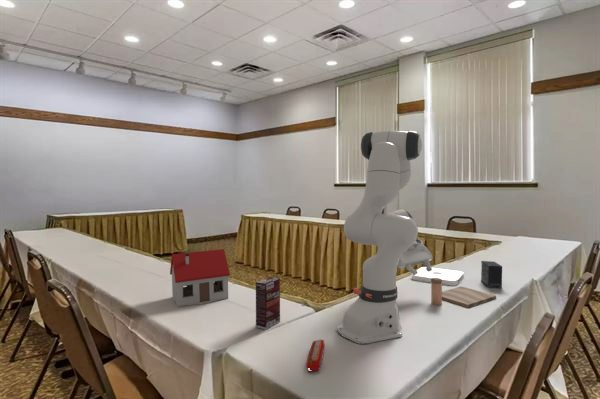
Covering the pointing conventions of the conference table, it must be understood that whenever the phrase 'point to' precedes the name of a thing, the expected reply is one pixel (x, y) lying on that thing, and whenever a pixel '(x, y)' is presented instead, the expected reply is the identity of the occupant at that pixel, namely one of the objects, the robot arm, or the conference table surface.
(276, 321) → the supplement box
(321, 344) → the candy bar
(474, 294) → the board
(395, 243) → the robot arm
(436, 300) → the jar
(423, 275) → the computer
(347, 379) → the conference table surface
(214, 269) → the house model
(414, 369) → the conference table surface
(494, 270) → the small box
